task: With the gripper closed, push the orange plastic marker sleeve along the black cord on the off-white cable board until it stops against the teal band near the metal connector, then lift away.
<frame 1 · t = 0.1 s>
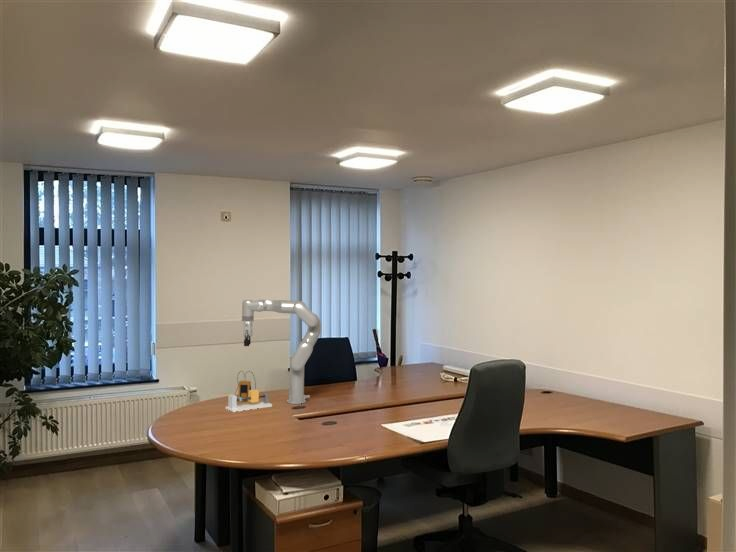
hand: (247, 345, 380), 37 cm above the table, tool pointing down, fingers open, 9 cm apart
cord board: (249, 407, 364), on the table
sleeve: (253, 396, 366), point 7 cm above the table, slide at 0.0 cm
multimeter: (245, 400, 386), on the table
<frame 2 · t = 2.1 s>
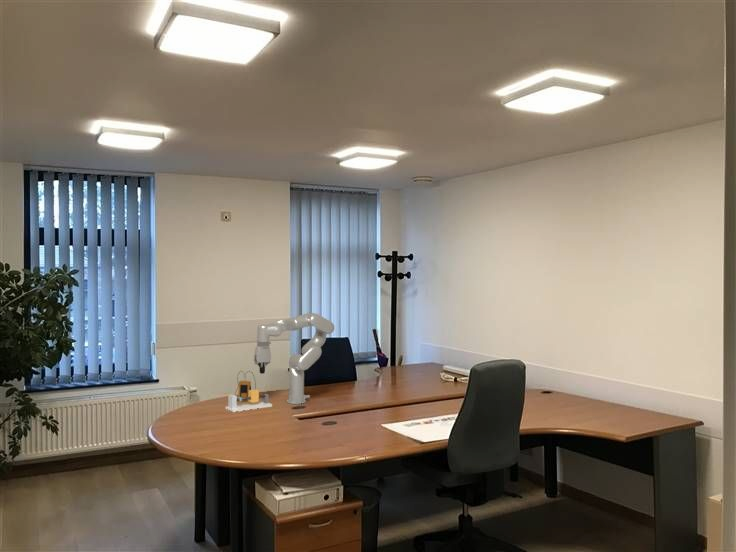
hand: (262, 373, 370), 21 cm above the table, tool pointing down, fingers closed
nothing on the table moved.
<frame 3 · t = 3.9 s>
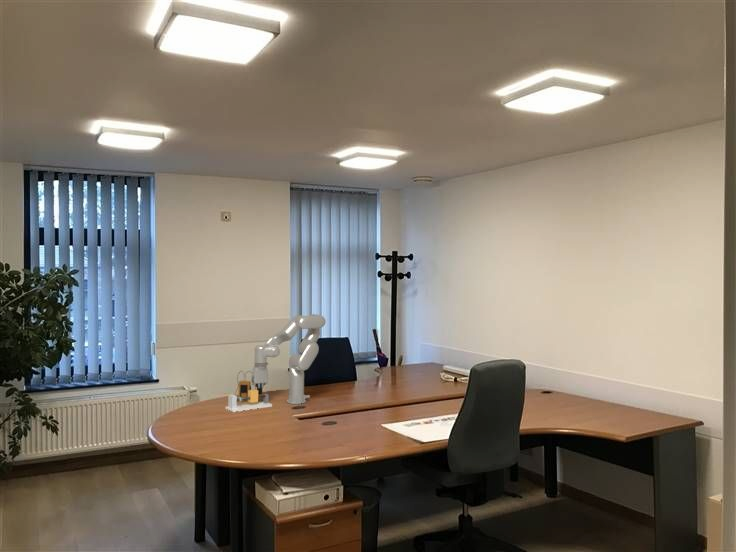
hand: (259, 394, 369), 8 cm above the table, tool pointing down, fingers closed
sleeve: (253, 396, 366), point 7 cm above the table, slide at 0.4 cm, touching gripper
everything else where it was.
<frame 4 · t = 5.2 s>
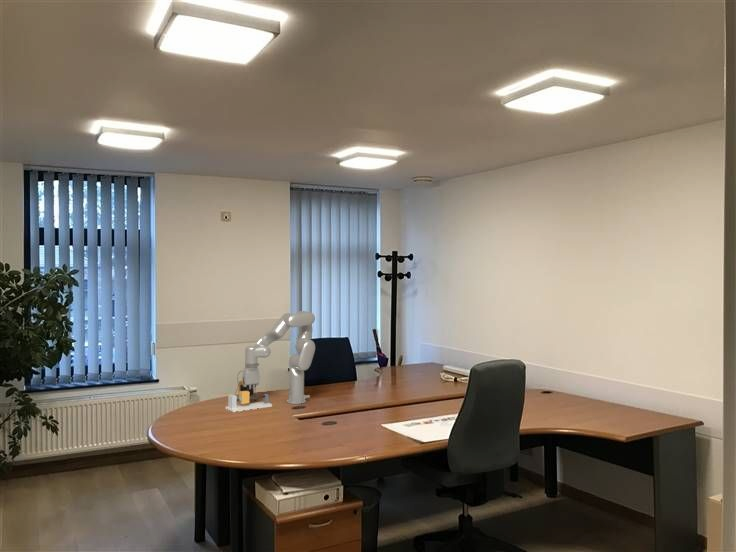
hand: (250, 395, 365), 8 cm above the table, tool pointing down, fingers closed
sleeve: (244, 397, 362), point 7 cm above the table, slide at 6.5 cm, touching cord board, gripper
everything else where it was.
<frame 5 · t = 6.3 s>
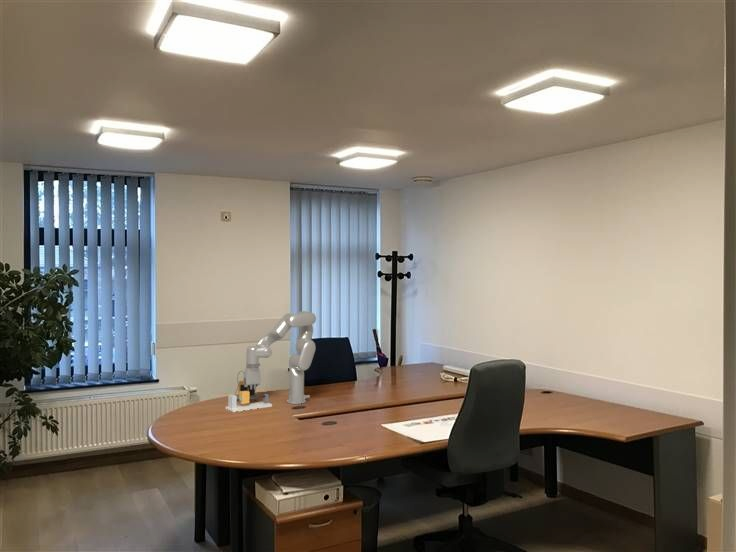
hand: (251, 395, 365), 8 cm above the table, tool pointing down, fingers closed
sleeve: (244, 397, 362), point 7 cm above the table, slide at 6.5 cm, touching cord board
everything else where it was.
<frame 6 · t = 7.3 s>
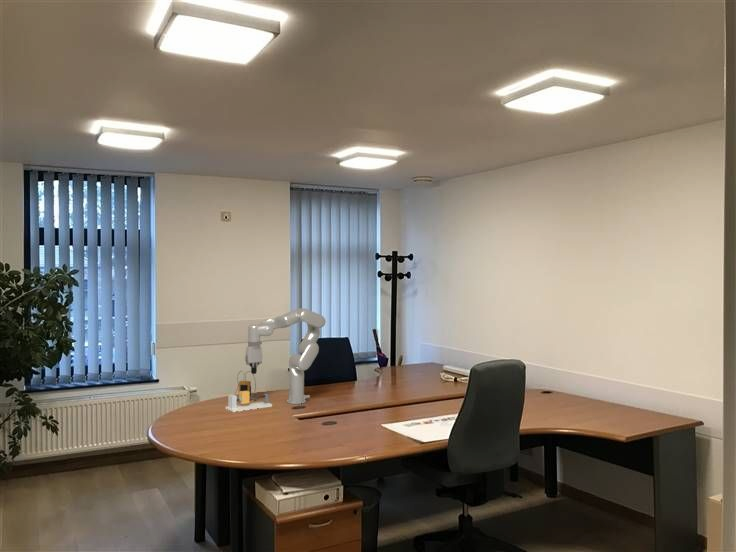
hand: (253, 373, 366), 21 cm above the table, tool pointing down, fingers closed
nothing on the table moved.
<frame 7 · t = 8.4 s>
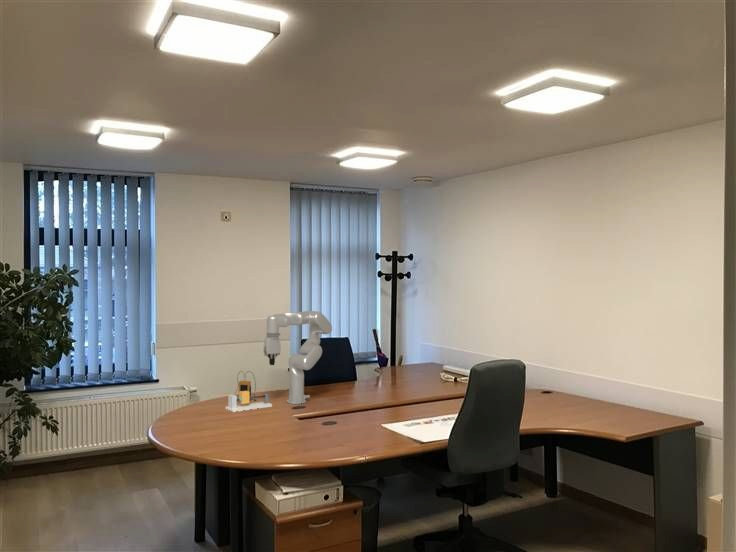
hand: (271, 364, 365), 27 cm above the table, tool pointing down, fingers closed
nothing on the table moved.
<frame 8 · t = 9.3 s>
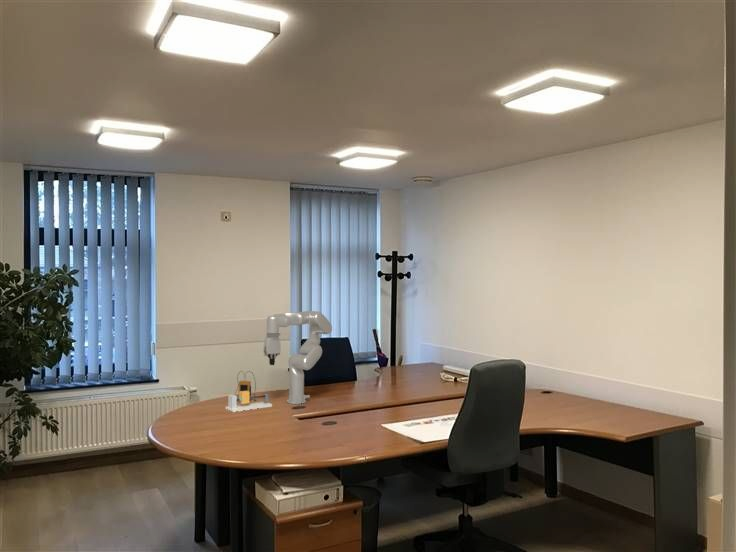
hand: (271, 364, 365), 27 cm above the table, tool pointing down, fingers closed
nothing on the table moved.
at the end: sleeve slide at 6.5 cm; multimeter moved 0.3 cm from its start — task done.
